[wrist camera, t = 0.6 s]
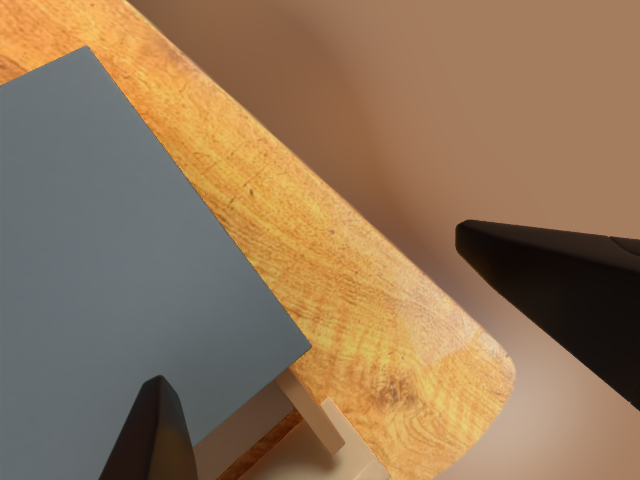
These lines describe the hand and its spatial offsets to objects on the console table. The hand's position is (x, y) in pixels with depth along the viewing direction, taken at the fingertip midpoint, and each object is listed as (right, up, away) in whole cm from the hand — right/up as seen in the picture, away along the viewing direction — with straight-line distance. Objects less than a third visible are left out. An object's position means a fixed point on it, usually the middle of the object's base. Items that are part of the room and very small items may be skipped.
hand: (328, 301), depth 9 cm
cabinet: (-12, -1, +12) cm, 17 cm away
